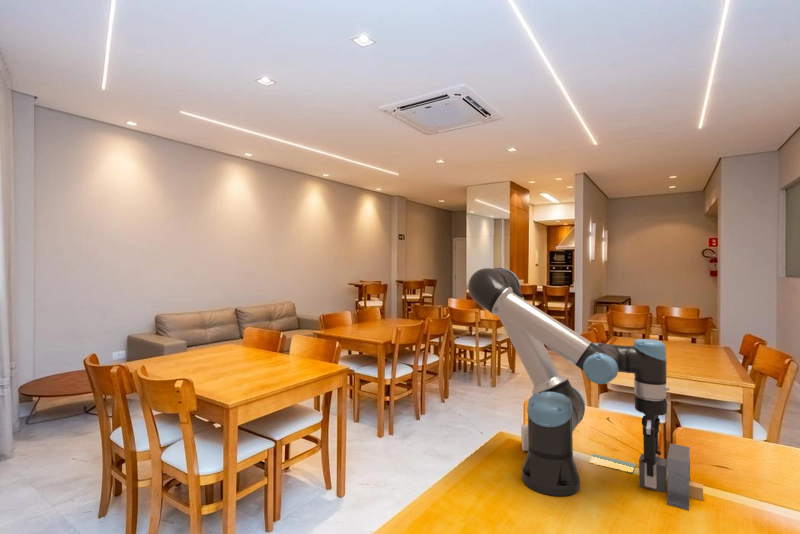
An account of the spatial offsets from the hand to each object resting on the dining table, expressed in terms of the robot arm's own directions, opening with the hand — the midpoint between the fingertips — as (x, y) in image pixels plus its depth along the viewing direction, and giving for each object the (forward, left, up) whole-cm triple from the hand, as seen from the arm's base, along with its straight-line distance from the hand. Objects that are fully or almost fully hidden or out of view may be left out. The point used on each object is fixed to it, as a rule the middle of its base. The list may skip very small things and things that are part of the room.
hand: (651, 482), depth 113 cm
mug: (-33, +6, -1) cm, 33 cm away
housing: (+6, 0, -1) cm, 6 cm away
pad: (-11, +7, -1) cm, 13 cm away
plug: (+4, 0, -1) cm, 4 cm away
